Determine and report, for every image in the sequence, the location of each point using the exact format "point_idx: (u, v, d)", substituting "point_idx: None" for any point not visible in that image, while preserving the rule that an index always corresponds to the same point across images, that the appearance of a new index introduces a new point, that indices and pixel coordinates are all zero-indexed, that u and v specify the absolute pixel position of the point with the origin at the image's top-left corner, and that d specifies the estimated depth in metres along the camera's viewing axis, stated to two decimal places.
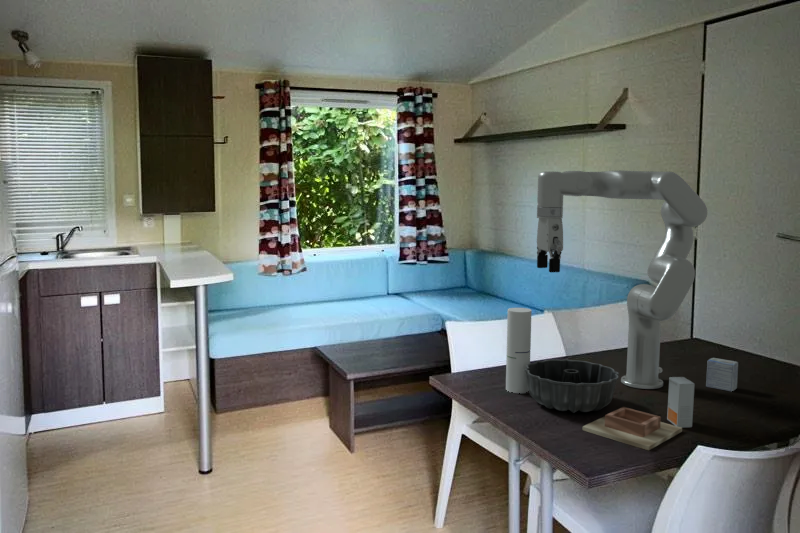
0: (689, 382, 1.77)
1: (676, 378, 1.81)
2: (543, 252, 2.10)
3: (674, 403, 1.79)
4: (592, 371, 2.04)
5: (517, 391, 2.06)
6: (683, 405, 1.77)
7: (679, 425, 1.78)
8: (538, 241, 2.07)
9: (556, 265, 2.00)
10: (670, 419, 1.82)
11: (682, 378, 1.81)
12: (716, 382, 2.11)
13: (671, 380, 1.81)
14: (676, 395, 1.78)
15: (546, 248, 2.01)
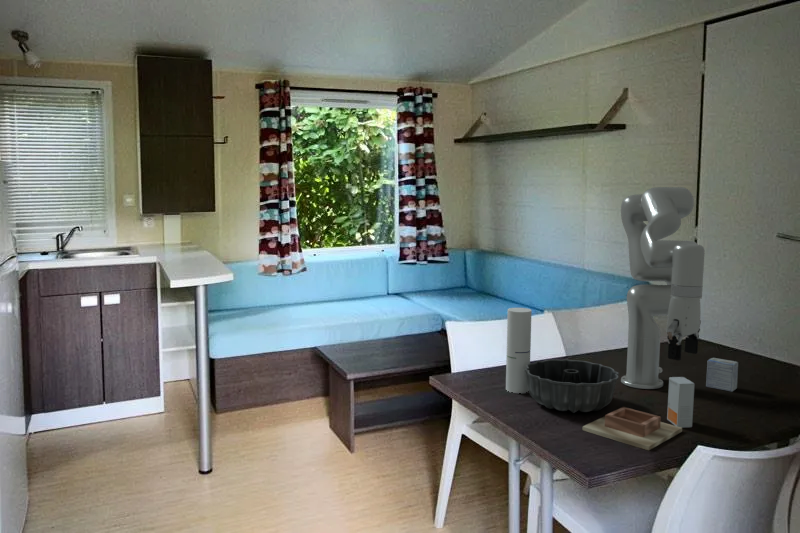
0: (689, 382, 1.77)
1: (676, 378, 1.81)
2: None
3: (674, 403, 1.79)
4: (592, 371, 2.04)
5: (517, 391, 2.06)
6: (683, 405, 1.77)
7: (679, 425, 1.78)
8: (688, 327, 1.74)
9: None
10: (670, 419, 1.82)
11: (682, 378, 1.81)
12: (716, 382, 2.11)
13: (671, 380, 1.81)
14: (676, 395, 1.78)
15: (697, 329, 1.79)
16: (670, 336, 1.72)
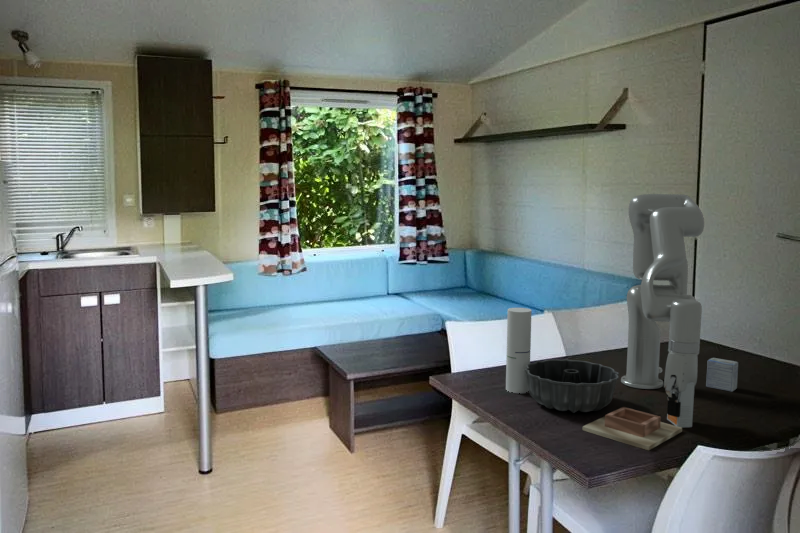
0: (689, 382, 1.77)
1: None
2: None
3: None
4: (592, 371, 2.04)
5: (517, 391, 2.06)
6: (683, 405, 1.77)
7: (679, 425, 1.78)
8: (685, 383, 1.76)
9: None
10: (670, 419, 1.82)
11: None
12: (716, 382, 2.11)
13: None
14: (676, 394, 1.78)
15: (695, 383, 1.80)
16: (669, 395, 1.75)
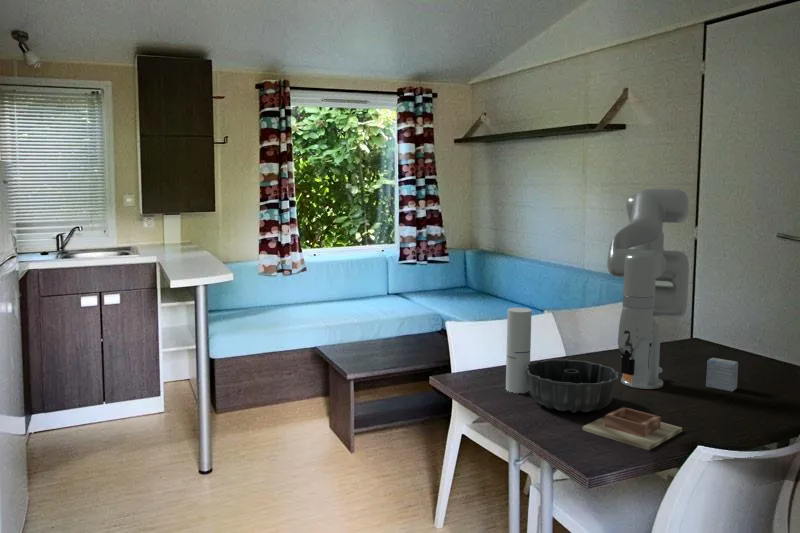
0: (644, 339, 1.71)
1: None
2: None
3: None
4: (592, 371, 2.04)
5: (517, 391, 2.06)
6: (637, 362, 1.70)
7: (634, 384, 1.71)
8: (639, 339, 1.69)
9: None
10: (625, 378, 1.75)
11: None
12: (716, 382, 2.11)
13: None
14: None
15: (650, 341, 1.74)
16: (622, 351, 1.68)
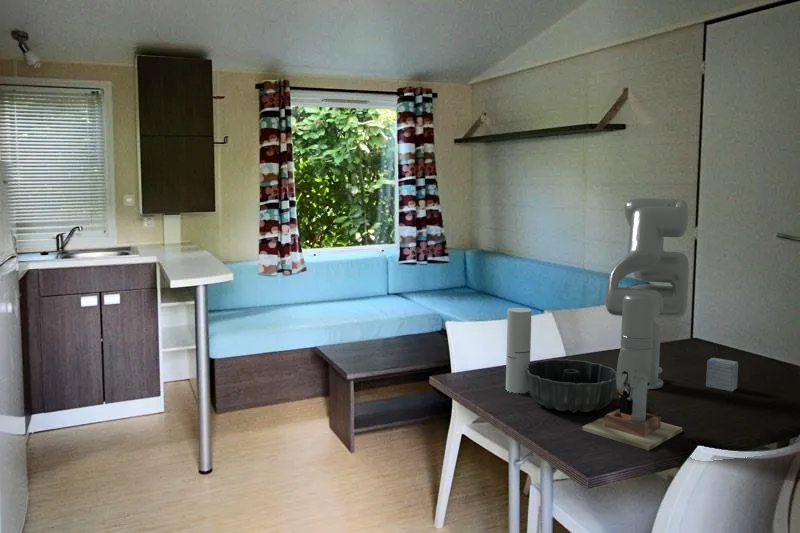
0: (642, 379, 1.72)
1: None
2: None
3: None
4: (592, 371, 2.04)
5: (517, 391, 2.06)
6: (636, 402, 1.72)
7: None
8: (637, 379, 1.70)
9: None
10: (623, 417, 1.76)
11: None
12: (716, 382, 2.11)
13: None
14: None
15: (648, 380, 1.75)
16: (620, 392, 1.70)
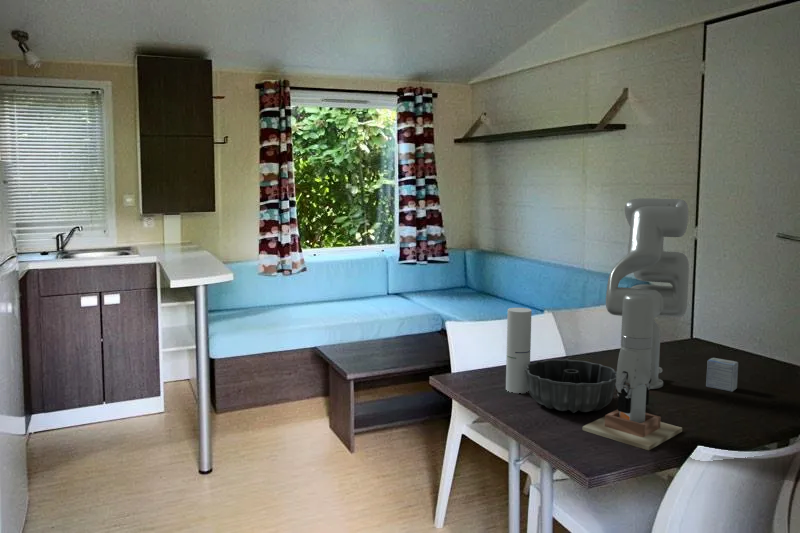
0: (641, 384, 1.72)
1: None
2: None
3: None
4: (592, 371, 2.04)
5: (517, 391, 2.06)
6: (635, 408, 1.72)
7: None
8: (637, 379, 1.70)
9: None
10: None
11: None
12: (716, 382, 2.11)
13: None
14: None
15: (648, 380, 1.75)
16: (619, 390, 1.69)
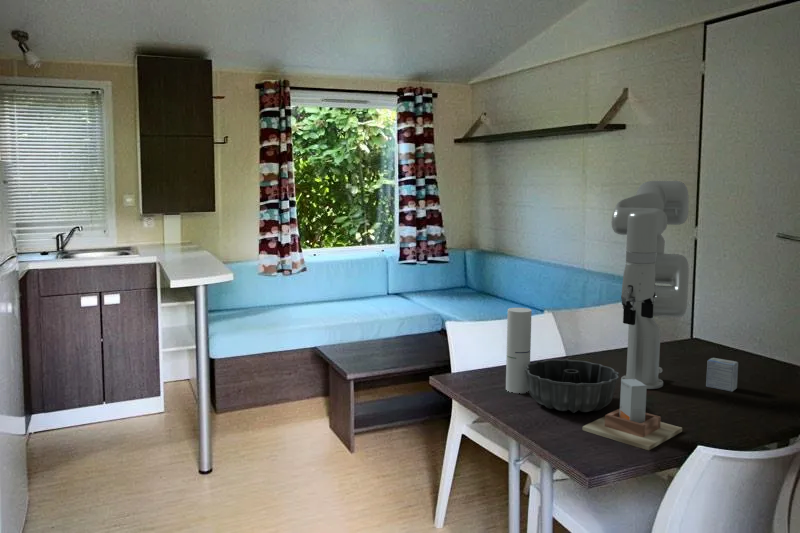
0: (641, 384, 1.72)
1: (628, 380, 1.76)
2: None
3: (627, 406, 1.73)
4: (592, 371, 2.04)
5: (517, 391, 2.06)
6: (635, 408, 1.72)
7: None
8: (642, 293, 1.79)
9: None
10: None
11: (634, 380, 1.76)
12: (716, 382, 2.11)
13: (623, 382, 1.75)
14: (629, 397, 1.72)
15: (652, 294, 1.83)
16: (624, 302, 1.77)
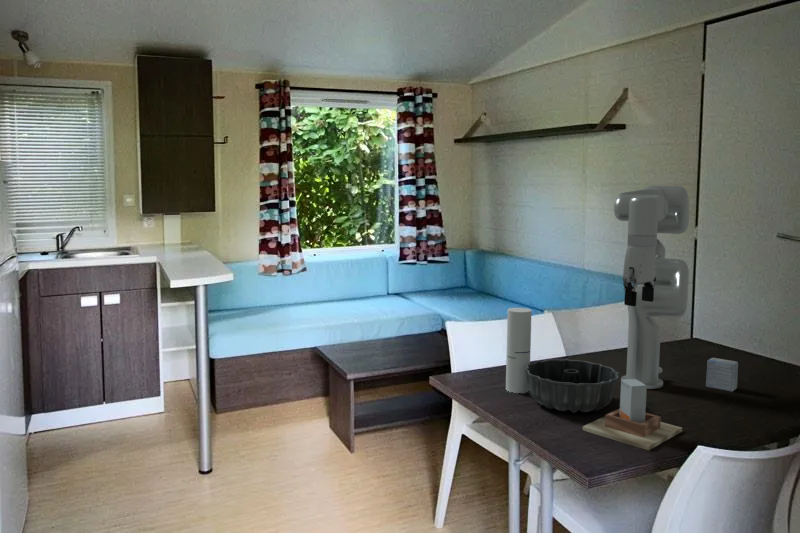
0: (641, 384, 1.72)
1: (628, 380, 1.76)
2: None
3: (627, 406, 1.73)
4: (592, 371, 2.04)
5: (517, 391, 2.06)
6: (635, 408, 1.72)
7: None
8: (643, 275, 1.84)
9: None
10: None
11: (634, 380, 1.76)
12: (716, 382, 2.11)
13: (623, 382, 1.75)
14: (629, 397, 1.72)
15: (653, 278, 1.88)
16: (625, 283, 1.82)
